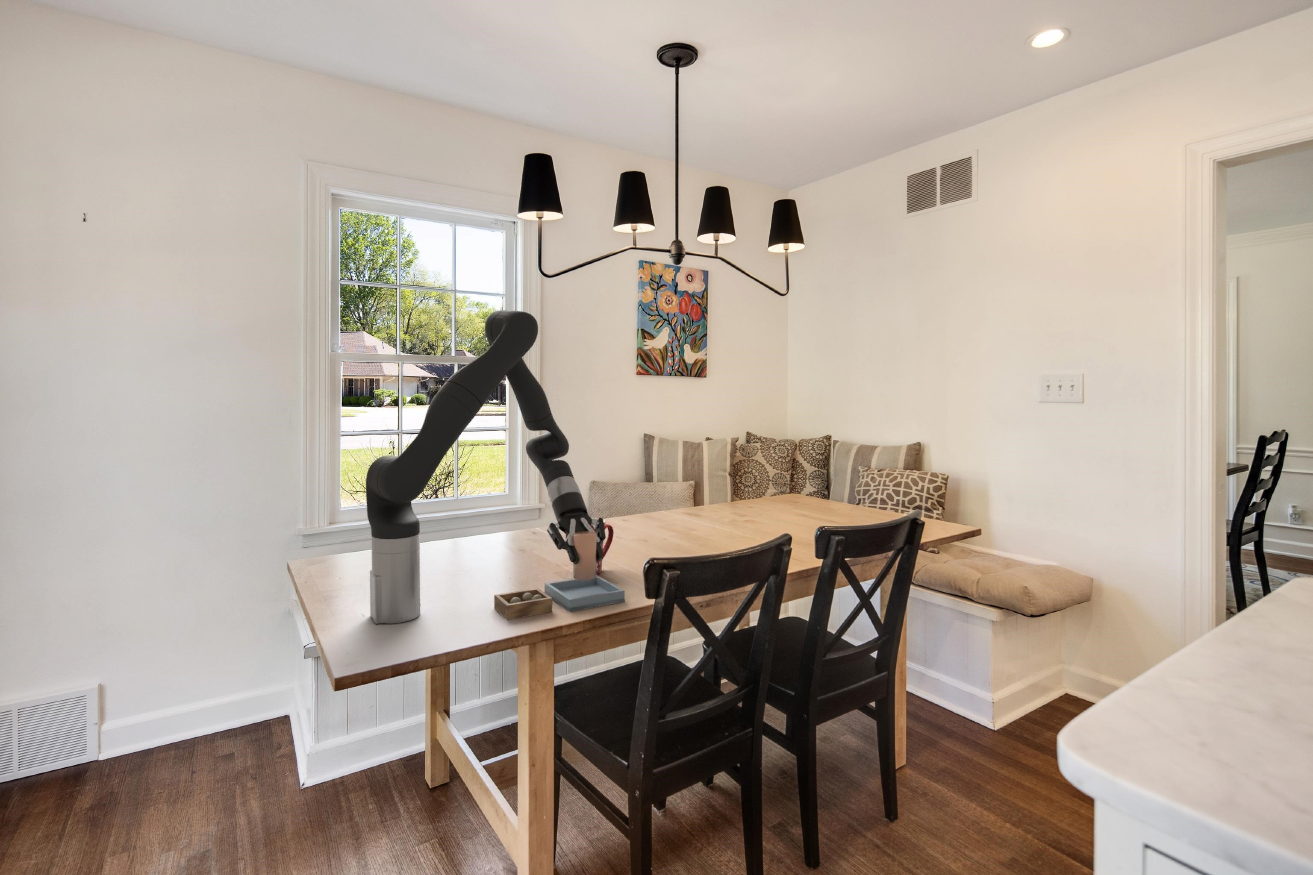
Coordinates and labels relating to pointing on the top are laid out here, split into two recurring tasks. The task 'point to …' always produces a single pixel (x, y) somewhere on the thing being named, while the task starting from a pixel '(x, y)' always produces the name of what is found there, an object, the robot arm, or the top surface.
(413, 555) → the robot arm
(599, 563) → the mug
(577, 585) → the dish
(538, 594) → the parts tray
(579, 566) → the wooden block
